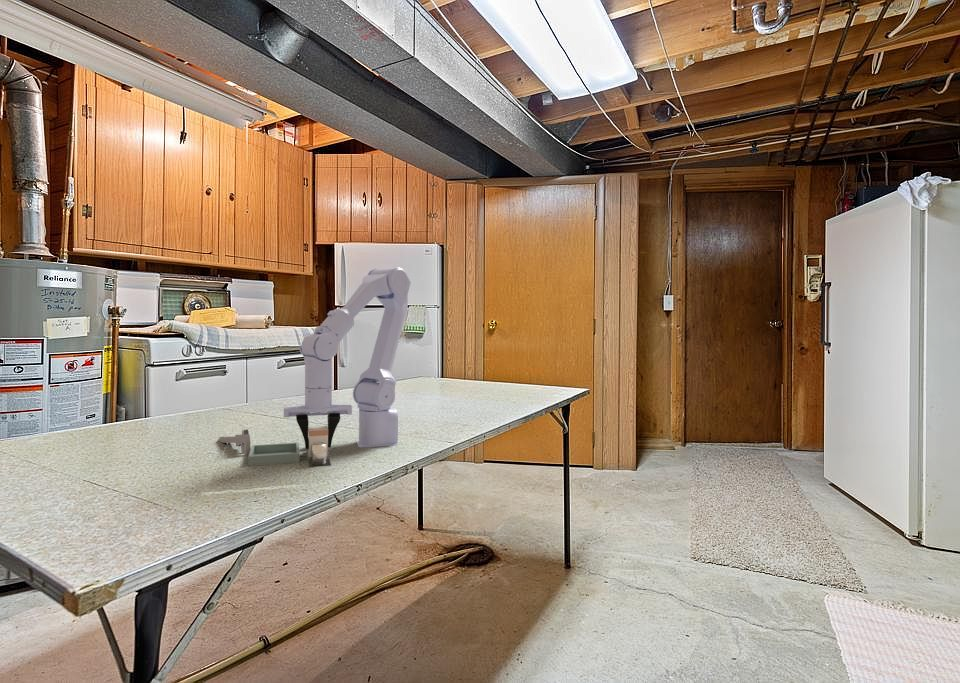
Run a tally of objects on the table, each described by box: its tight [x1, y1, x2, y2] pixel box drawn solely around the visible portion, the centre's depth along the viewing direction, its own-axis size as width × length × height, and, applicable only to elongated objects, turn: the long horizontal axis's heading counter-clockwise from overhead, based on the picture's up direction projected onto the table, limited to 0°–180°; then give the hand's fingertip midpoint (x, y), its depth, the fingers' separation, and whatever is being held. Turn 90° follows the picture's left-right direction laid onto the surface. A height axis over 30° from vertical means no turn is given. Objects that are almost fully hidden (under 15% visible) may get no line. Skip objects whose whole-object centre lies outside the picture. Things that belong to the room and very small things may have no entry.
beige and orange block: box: [307, 425, 329, 457], centre depth 116 cm, size 4×4×6 cm
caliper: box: [217, 428, 251, 456], centre depth 122 cm, size 20×1×6 cm, turn 43°
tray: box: [247, 442, 301, 467], centre depth 113 cm, size 10×10×2 cm
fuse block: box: [306, 443, 332, 468], centre depth 116 cm, size 4×19×4 cm, turn 20°
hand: (318, 447), depth 116 cm, fingers closed on beige and orange block, 4 cm apart
